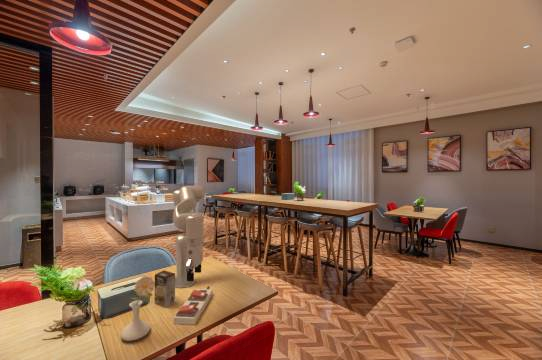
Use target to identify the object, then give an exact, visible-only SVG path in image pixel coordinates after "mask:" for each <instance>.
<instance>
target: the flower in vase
mask: <svg viewBox="0 0 542 360" xmlns="http://www.w3.org/2000/svg"><path fill="white" fill-rule="evenodd" d="M154 290H155V280H154V279H153V277H151V276H149V275H148V276H142V277H140V278H139V279H138V280H136V282H135V285H134V292H135V293H136V294H137V296H140V297H139V298H137V297H130V299H131V300H134V301H132V302H130V303H129V304H128V305H129V307H130V308H131V310H132V321H131V322H129V323H128V324H127V325H125V327H124V328H123V329H122V330H121V332H120V338H121V339H122V340H124V341H128V342H129V341H136V340H139V339H141V338H144V337H145V336H146V335H147V334H148V333H149V332H150V330H151V328H152V327H151V324H150V322H148V321H146V320H143V319H141V318H140V308H141V305H142V304H143V303H144V302H143V300H141V299H142V298H144V299H149V298H151V297H152V296H153V293H152V292H154Z"/></svg>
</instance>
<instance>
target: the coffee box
mask: <svg viewBox="0 0 542 360" xmlns="http://www.w3.org/2000/svg"><path fill="white" fill-rule="evenodd" d="M175 276H176V273H174V272H171V271H167V270H162V271H159V272H157V273H155V274H154V282H155V284H154V304H155V305H158V306H161V307H163V308H168V307H170V306H171V305H173V304H174V303H175V302H176V287H175Z"/></svg>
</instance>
